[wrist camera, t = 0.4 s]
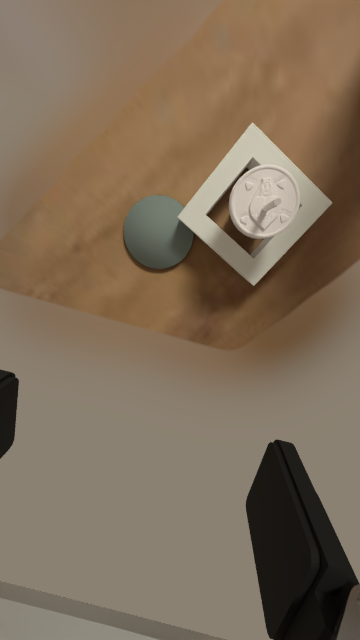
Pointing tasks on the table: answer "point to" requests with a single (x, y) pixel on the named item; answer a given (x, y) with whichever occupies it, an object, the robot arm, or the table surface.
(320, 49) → the table surface
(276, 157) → the holder
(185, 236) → the coaster
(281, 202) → the lidded cup with straw
